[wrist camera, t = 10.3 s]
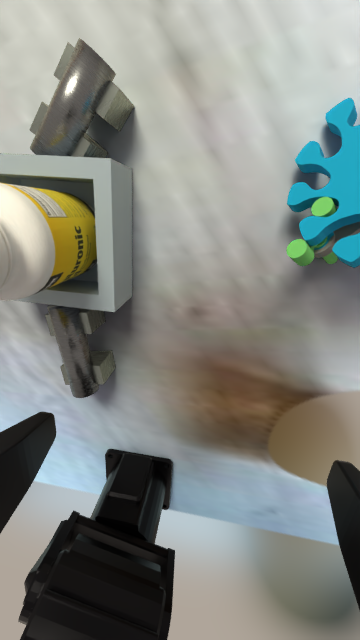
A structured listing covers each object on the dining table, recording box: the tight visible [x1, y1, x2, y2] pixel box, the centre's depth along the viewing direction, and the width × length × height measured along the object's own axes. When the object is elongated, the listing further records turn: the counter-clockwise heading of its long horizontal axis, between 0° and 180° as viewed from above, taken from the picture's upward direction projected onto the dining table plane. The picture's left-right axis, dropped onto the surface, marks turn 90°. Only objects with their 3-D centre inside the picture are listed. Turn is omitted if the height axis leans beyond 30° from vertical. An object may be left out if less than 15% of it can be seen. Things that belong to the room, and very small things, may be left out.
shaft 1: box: [30, 38, 134, 158], centre depth 15 cm, size 6×3×4 cm, turn 141°
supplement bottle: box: [0, 183, 97, 301], centre depth 15 cm, size 5×5×10 cm
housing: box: [0, 153, 132, 312], centre depth 18 cm, size 8×8×4 cm
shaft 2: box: [45, 305, 116, 398], centre depth 21 cm, size 7×3×4 cm, turn 6°
